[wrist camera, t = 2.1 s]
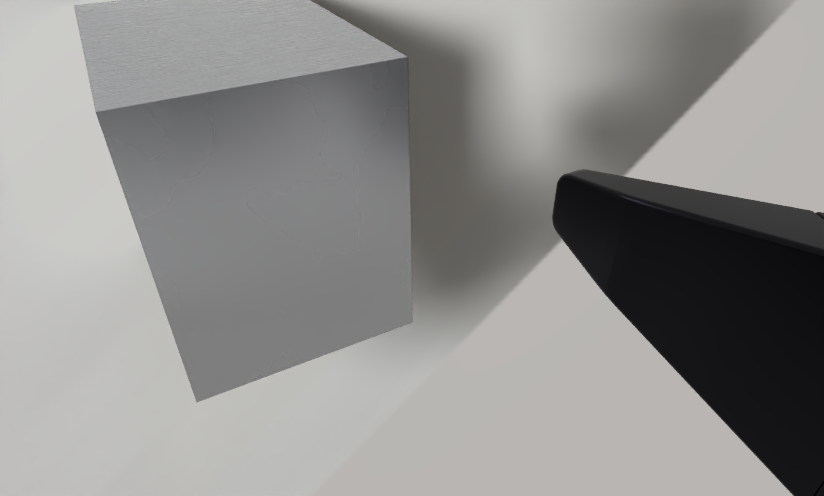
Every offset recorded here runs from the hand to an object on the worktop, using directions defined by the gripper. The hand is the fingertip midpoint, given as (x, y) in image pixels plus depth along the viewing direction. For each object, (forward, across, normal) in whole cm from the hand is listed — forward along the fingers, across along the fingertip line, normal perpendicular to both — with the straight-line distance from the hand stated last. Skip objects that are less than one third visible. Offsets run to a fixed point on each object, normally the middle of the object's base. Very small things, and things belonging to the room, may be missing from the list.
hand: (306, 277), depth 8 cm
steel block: (+7, 0, 0) cm, 7 cm away
